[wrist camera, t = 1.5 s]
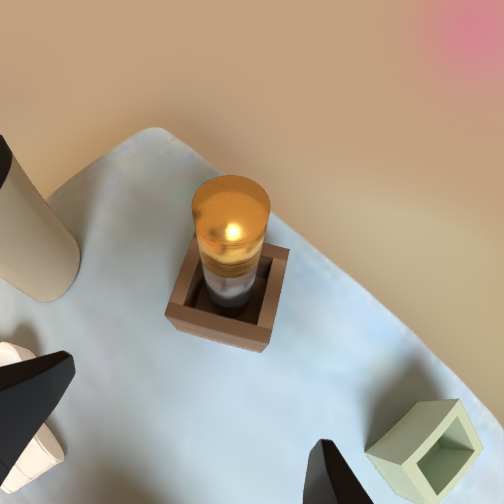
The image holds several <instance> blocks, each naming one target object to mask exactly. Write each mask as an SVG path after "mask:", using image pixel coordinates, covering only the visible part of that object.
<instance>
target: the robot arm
mask: <svg viewBox="0 0 504 504" xmlns="http://www.w3.org/2000/svg"><path fill="white" fill-rule="evenodd" d="M74 375H75V365H74V359H73V356H72V355H71V354H69V353H68V352H66V351H59V352H55V353H51V354H48V355H44V356H40V357H36V358H33V359H29V360H25V361H21V362H17V363H13V364H9V365H5V366H1V367H0V487H1V485H2V484H3V482H4V480H5V479H6V477H7V476H8V474H9V473H10V471H11V469H12V468H13V466H14V465H15V463H16V462H17V460H18V459H19V457H20V456H21V454H22V453H23V451H24V450H25V448H26V447H27V446H28V444H29V443H30V441H31V440H32V438H33V437H34V436H35V434H36V433H37V431H38V430H39V429H40V427H41V426H42V424H43V423H44V422H45V420H46V419H47V418H48V416H49V415H50V414H51V412H52V411H53V410H54V408H55V407H56V406H57V404H58V403H59V401H60V399H61V398H62V396H63V394H64V392H65V391H66V389H67V387H68V386H69V384H70V382H71V381H72V379H73V377H74ZM303 504H374V503H373V502H372V500H371V499H370V497H369V496H368V494H367V493H366V491H365V490H364V488H363V487H362V485H361V484H360V482H359V481H358V479H357V478H356V476H355V475H354V473H353V472H352V470H351V469H350V467H349V466H348V464H347V462H346V461H345V459H344V458H343V456H342V455H341V453H340V452H339V450H338V448H337V447H336V445H335V444H334V442H333V441H332V440H329V439H320V440H319V441H318V442H317V443H316V445H315V446H314V447H313V449H312V450H311V452H310V454H309V459H308V466H307V472H306V478H305V484H304V491H303Z"/></svg>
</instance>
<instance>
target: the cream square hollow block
mask: <svg viewBox="0 0 504 504" xmlns="http://www.w3.org/2000/svg"><path fill="white" fill-rule="evenodd" d="M483 449H484V447H483V445H482V443H481V440H480V438H479V436H478V434H477V432H476V430H475V428H474V426H473V423H472V421H471V419H470V417H469V415H468V413H467V411H466V410H465V408H464V406H463V404H462V402H461V400H460V398H459V399H449V400H437V401H419V402H417V403H416V404H415V405H414V406H413V407H412V408H411V409H410V410H409V411H408V412H407V413H406V414H405V415H404V416H403V417H402V418H401V419H400V420H399V421H398V422H397V423H396V424H395V425H394V426H393V427H392V428H391V429H390V430H389V431H388V432H387V433H386V434H385V435H384V436H383V437H381V438H380V439H379V440H378V441H377V442H376V443H375V444H374V445H372V446H371V447H370V448H369V449H368V450H367V451H365V452H364V453H365V454H366V456H367V457H368V458H369V460H370V461H371V463H372V464H373V465H374V467H375V468H376V469H377V471H378V472H379V473H380V475H381V476H382V477H383V479H384V480H385V481H386V483H387V484H388V485H389V487H390V488H391V489H392V491H393V492H394V493H395V494H396V495H398V496H400V497H402V498H404V499H406V500H409V501H411V502H413V503H415V504H438V503H439V502H440V501H441V500H442V499H443V498H444V497H445V496H446V495H447V494H448V493H449V492H450V491H451V489H452V488H453V487H454V486H455V485H456V484H457V483H458V481H459V480H460V479H461V478H462V477H463V475H464V474H465V473H466V472H467V470H468V469H469V468H470V466H471V465H472V464H473V462H474V461H475V460H476V458H477V457H478V456H479V454H480V453H481V451H482V450H483Z"/></svg>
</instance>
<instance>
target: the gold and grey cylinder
mask: <svg viewBox="0 0 504 504" xmlns="http://www.w3.org/2000/svg"><path fill="white" fill-rule="evenodd" d="M192 213H193V218H194V224H195V229H196V235H197V240H198V246H199V251H200V256H201V261H202V266H203V271H204V276H205V281H206V286H207V290H208V295H209V300H210V304H211V307H212V309H213V310H214V311H215V312H216V313H217V314H218V315H219V316H222V317H226V318H236V317H238V316H240V315H242V314H243V313H244V312H245V311H246V310H247V308H248V306H249V302H250V298H251V293H252V289H253V284H254V280H255V276H256V271H257V267H258V263H259V258H260V254H261V249H262V245H263V240H264V236H265V232H266V227H267V223H268V218H269V214H270V200H269V198H268V195H267V193H266V192H265V191H264V189H263V188H262V187H261V186H260V185H259V184H257V183H256V182H254V181H252V180H250V179H248V178H245V177H241V176H234V175H228V176H221V177H217V178H214V179H212V180H210V181H208V182H206V183H205V184H203V185H202V186H201V187H200V188H199V189H198V191H197V192H196V193H195V196H194V198H193V201H192Z"/></svg>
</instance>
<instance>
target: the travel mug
mask: <svg viewBox="0 0 504 504" xmlns="http://www.w3.org/2000/svg"><path fill="white" fill-rule="evenodd" d="M79 264H80V250H79V246H78V244H77V242H76V240H75V239H74V237H73V236H72V235H71V234H70V233H69V231H68V230H67V229H66V228H65V226H64V225H63V224H62V223H61V221H60V220H59V219H58V218H57V216H56V215H55V214H54V213H53V211H52V210H51V209H50V207H49V206H48V205H47V203H46V202H45V201H44V199H43V198H42V196H41V195H40V194H39V192H38V191H37V190H36V188H35V187H34V185H33V184H32V182H31V181H30V179H29V178H28V176H27V175H26V173H25V172H24V171H23V169H22V168H21V166H20V164H19V163H18V161H17V160H16V158H15V156H14V155H13V153H12V152H11V150H10V148H9V147H8V145H7V143H6V142H5V140H4V138H3V136H2V135H0V277H1V278H2V279H4V280H5V281H6V282H8V283H9V284H11V285H12V286H14V287H15V288H17V289H18V290H20V291H21V292H23V293H24V294H26V295H28V296H29V297H31V298H32V299H34V300H36V301H38V302H50V301H53V300H55V299H57V298H59V297H60V296H61V295H63V294H64V293H65V292H66V291H67V290H68V288H69V287H70V286H71V284H72V283H73V281H74V279H75V277H76V274H77V272H78V268H79Z"/></svg>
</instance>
